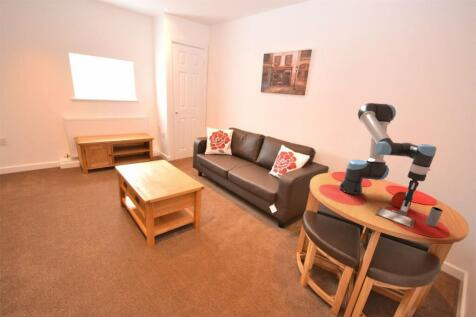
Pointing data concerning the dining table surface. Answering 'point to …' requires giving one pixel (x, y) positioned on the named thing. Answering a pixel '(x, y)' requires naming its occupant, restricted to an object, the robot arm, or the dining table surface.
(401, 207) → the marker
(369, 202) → the dining table surface
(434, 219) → the grey hollow cylinder
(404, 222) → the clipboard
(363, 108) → the robot arm
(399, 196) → the apple
